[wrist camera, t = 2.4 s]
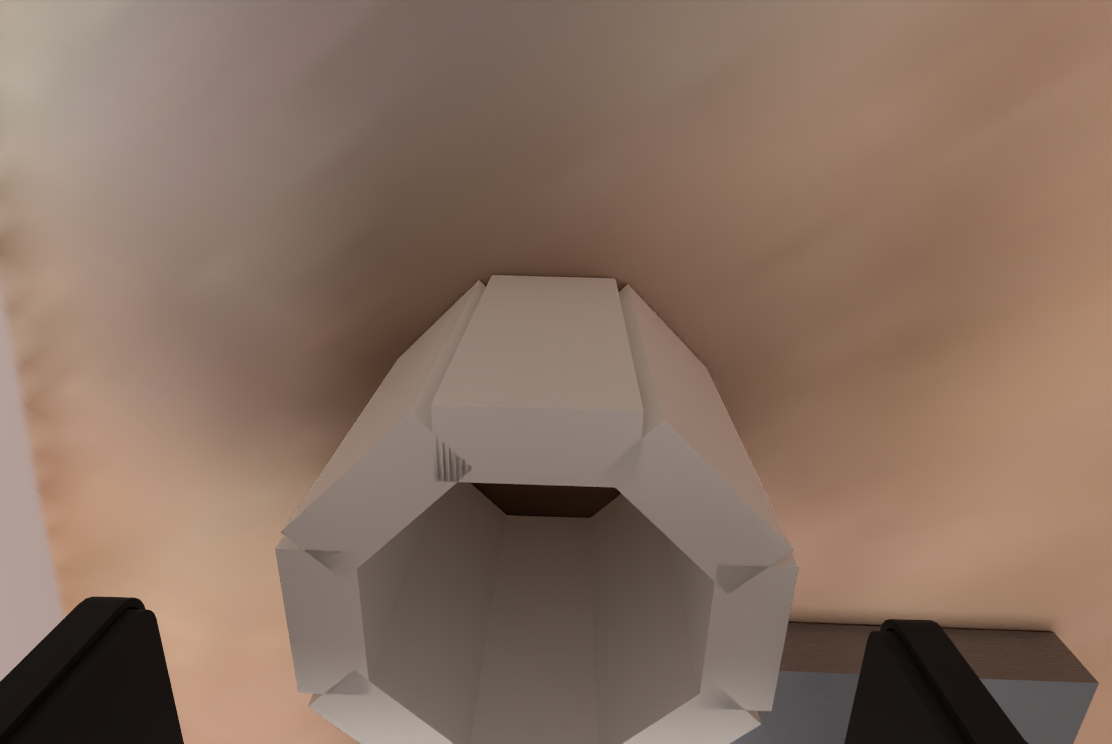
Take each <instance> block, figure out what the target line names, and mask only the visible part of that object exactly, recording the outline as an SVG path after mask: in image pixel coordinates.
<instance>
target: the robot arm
mask: <svg viewBox="0 0 1112 744" xmlns="http://www.w3.org/2000/svg"><path fill="white" fill-rule="evenodd" d="M0 744H184V742H183V738H182V733H181V729H180V724H179V720H178V715H177V710H176V706H175V701H174V697H173V692H172V688H171V683H170V679H169V674H168V670H167V665H166V660H165V656H164V651H163V647H162V642H161V638H160V633H159V629H158V624H157V620H156V617H155V614H154V613H153V612H152V611H151V610H146V609H145V607H144V604H143V603H142V602H141V601H140V600H139V599H137V598H124V597H90V598H87V599H85V600H84V601H82V602H81V603H80V604H78V605H77V606H76V607H75V608H74V609H73V610H72V611H71V612H70V613H69V614H68V615H67V616H66V617H65V618H64V619H63V620H62V621H61V622H60V623H59V624H58V625H57V626H56V627H55V628H54V629H53V630H52V631H51V632H50V633H49V634H48V635H47V636H46V637H45V638H44V639H43V640H42V641H41V642H40V643H39V644H38V645H37V646H36V647H35V648H34V649H33V650H32V651H31V652H30V653H29V654H28V655H27V656H26V657H25V658H24V659H23V660H22V661H21V662H20V663H19V664H18V665H17V666H16V667H15V668H14V669H13V670H12V671H11V672H10V673H9V674H8V675H7V676H6V677H5V678H4V679H3V680H2V681H1V682H0ZM844 744H1029V743H1028V742H1027V741H1025V740H1024V738H1023V737H1022V736H1021V734H1020V733H1019V732H1018V730H1017V729H1016V728H1015V726H1014V725H1013V723H1012V722H1011V721H1010V719H1009V718H1008V717H1007V715H1006V714H1005V713H1004V711H1003V710H1002V709H1001V707H1000V706H999V705H998V703H997V702H996V700H995V699H994V698H993V696H992V695H991V694H990V692H989V691H988V690H987V688H986V687H985V686H984V684H983V683H982V682H981V680H980V679H979V677H978V676H977V675H976V673H975V672H974V671H973V669H972V668H971V667H970V665H969V664H968V663H967V661H966V660H965V659H964V657H963V656H962V654H961V653H960V652H959V650H958V649H957V648H956V646H955V645H954V644H953V642H952V641H951V640H950V638H949V637H948V636H947V634H946V633H945V632H944V630H943V629H942V628H941V627H940V626H939V625H938V624H937V623H936V622H933V621H930V620H895V619H890V620H886V621H885V622H884V623H883V624H882V626H881V629H880V631H872V632H871V633H870V634H869V636H868V639H867V643H866V648H865V652H864V657H863V661H862V666H861V670H860V675H859V679H858V684H857V688H856V693H855V697H854V702H853V706H852V711H851V715H850V720H849V724H848V729H847V733H846V738H845V742H844Z"/></svg>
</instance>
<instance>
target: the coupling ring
mask: <svg viewBox="0 0 1112 744" xmlns="http://www.w3.org/2000/svg"><path fill="white" fill-rule="evenodd" d="M471 483H499V484H529V485H559V486H589V487H615V488H616V489H617V490H618V491H619V492H620V493H622V494H620V495H619V496H618V497H617V498H615V499H614V500H613V501H611V502H610V503H609V504H608V505H606V506H605V507H604V508H603V509H601V510H600V511H599V512H597V513H596V514H595V515H594V516H592V517H591V518H572V517H543V516H513V515H506V514H505V513H504V512H503V511H502V510H500V509H499V508H498V507H497V506H496V505H495V504H494V503H492V502H491V501H490V500H489V499H488V498H487V497H486V496H485V495H483V494H482V493H481V492H480V491H479V490H478V489H477V488H475V487H474V486H473V485H472V484H471ZM281 533H282V534H284V536H283V538H282V539H281V541H280V542H279V544H278V545H277V547H276V548H275V550H276V557H277V563H278V569H279V575H280V582H281V588H282V594H283V600H284V607H285V613H286V619H287V625H288V631H289V638H290V644H291V650H292V656H293V663H294V669H295V675H296V681H297V688H298V693H314V694H313V696H312V698H311V700H310V703H309V705H308V707H309V708H311V709H312V710H313V711H315V712H316V713H318V714H319V715H321V716H322V717H323V718H325V719H326V720H328V721H329V722H330V723H332V724H333V725H335V726H336V727H338V728H339V729H340V730H342V731H343V732H345V733H346V734H347V735H349V736H350V737H352V738H353V739H355V740H356V741H357V742H359V743H360V744H730V743H731V742H733V741H735V740H736V739H738V738H740V737H741V736H743V735H745V734H746V733H748V732H750V731H751V730H753V729H754V728H756V727H758V726H759V725H761V721H760V718H759V715H758V711H772V705H773V700H774V695H775V690H776V684H777V679H778V674H779V669H780V663H781V658H782V653H783V647H784V642H785V637H786V632H787V626H788V621H789V616H790V610H791V605H792V600H793V595H794V589H795V584H796V579H797V574H798V568H799V567H798V565H797V562H796V560H795V558H794V556H793V554H792V552H791V551H793V548H792V546H791V544H790V542H789V540H788V538H787V536H786V533H785V531H784V529H783V527H782V525H781V523H780V521H779V519H778V517H777V515H776V512H775V510H774V508H773V506H772V504H771V502H770V500H769V498H768V496H767V494H766V491H765V489H764V487H763V485H762V483H761V481H760V479H759V477H758V475H757V473H756V470H755V468H754V466H753V464H752V462H751V460H750V458H749V456H748V454H747V452H746V449H745V447H744V445H743V443H742V441H741V439H740V437H739V435H738V433H737V431H736V428H735V426H734V424H733V422H732V420H731V418H730V416H729V414H728V412H727V410H726V407H725V405H724V403H723V401H722V399H721V397H720V395H719V393H718V391H717V389H716V386H715V384H714V382H713V380H712V378H711V376H710V374H709V372H708V370H707V368H706V367H705V366H704V364H703V363H702V362H701V361H700V360H699V359H698V358H697V357H696V356H695V355H694V354H693V353H692V352H691V351H690V350H689V348H688V347H687V346H686V345H685V344H684V343H683V342H682V341H681V340H680V339H679V338H678V337H677V336H676V335H675V334H674V332H673V331H672V330H671V329H670V328H669V327H668V326H667V325H666V324H665V323H664V322H663V321H662V320H661V319H660V318H659V316H658V315H657V314H656V313H655V312H654V311H653V310H652V309H651V308H650V307H649V306H648V305H647V304H646V303H645V302H644V300H643V299H642V298H641V297H640V296H639V295H638V294H637V293H636V292H635V291H634V290H633V289H632V288H631V287H630V286H629V284H627V285H626V286H625V287H624V288H623V289H622V290H621V291H620V292H618V288H617V283H616V279H615V278H582V277H546V276H510V275H492V276H491V278H490V280H489V282H488V284H487V286H485V285H484V284H483V283H482V282H481V281H480V280H478V281H477V282H476V283H475V284H474V285H473V286H472V287H471V288H470V289H469V290H468V291H467V292H466V293H465V294H464V295H463V296H462V297H461V298H460V299H459V300H458V301H457V302H456V303H455V304H454V305H453V306H452V307H451V308H450V309H449V310H447V311H446V312H445V313H444V314H443V315H442V316H441V317H440V318H439V319H438V320H437V321H436V322H435V323H434V324H433V325H432V326H431V327H430V328H429V329H428V330H427V331H426V332H425V333H424V334H423V335H422V336H421V337H420V338H419V339H418V340H417V341H416V342H415V343H414V344H412V345H411V346H410V347H409V348H408V349H407V350H406V351H405V352H404V353H403V354H402V355H401V356H400V357H399V358H398V359H397V361H396V362H395V364H394V365H393V367H392V368H391V370H390V371H389V373H388V374H387V376H386V377H385V379H384V380H383V382H382V383H381V385H380V386H379V388H378V389H377V390H376V392H375V393H374V395H373V396H372V398H371V399H370V401H369V402H368V404H367V405H366V407H365V408H364V410H363V411H362V413H361V414H360V416H359V417H358V419H357V420H356V422H355V423H354V425H353V426H352V428H351V429H350V430H349V432H348V433H347V435H346V436H345V438H344V439H343V441H342V442H341V444H340V445H339V447H338V448H337V450H336V451H335V453H334V454H333V456H332V457H331V459H330V460H329V462H328V463H327V465H326V466H325V468H324V469H323V470H322V472H321V473H320V475H319V476H318V478H317V479H316V481H315V482H314V484H313V485H312V487H311V488H310V490H309V491H308V493H307V494H306V496H305V497H304V499H303V500H302V502H301V503H300V505H299V506H298V508H297V509H296V511H295V512H294V513H293V515H292V516H291V518H290V519H289V521H288V522H287V524H286V525H285V527H284V528H283V530H282V531H281Z"/></svg>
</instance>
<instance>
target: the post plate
mask: <svg viewBox="0 0 1112 744" xmlns="http://www.w3.org/2000/svg"><path fill="white" fill-rule="evenodd" d="M880 629H881V626H862V625H835V624H807V623H788V626H787V632H786V637H785V642H784V647H783V653H782V658H781V663H780V669H779V674H778V679H777V684H776V690H775V695H774V700H773V705H772V711H758V715H759V718H760V721H761V725H759V726H758V727H756V728H754V729H753V730H751V731H750V732H748V733H746V734H745V735H743V736H741V737H740V738H738V739H736V740H735V741H733V742H731V743H730V744H844V742H845V738H846V733H847V729H848V724H849V720H850V715H851V711H852V706H853V702H854V697H855V693H856V688H857V684H858V679H859V675H860V670H861V666H862V661H863V657H864V652H865V648H866V643H867V639H868V636H869V634H870V633H871V632H872V631H880ZM942 629H943V630H944V632H945V633H946V634H947V636H948V637H949V638H950V640H951V641H952V642H953V644H954V645H955V646H956V648H957V649H958V650H959V652H960V653H961V654H962V656H963V657H964V659H965V660H966V661H967V663H968V664H969V665H970V667H971V668H972V669H973V671H974V672H975V673H976V675H977V676H978V677H979V679H980V680H981V682H982V683H983V684H984V686H985V687H986V688H987V690H988V691H989V692H990V694H991V695H992V696H993V698H994V699H995V700H996V702H997V703H998V705H999V706H1000V707H1001V709H1002V710H1003V711H1004V713H1005V714H1006V715H1007V717H1008V718H1009V719H1010V721H1011V722H1012V723H1013V725H1014V726H1015V728H1016V729H1017V730H1018V732H1019V733H1020V734H1021V736H1022V737H1023V738H1024V740H1025V741H1027V742H1028V743H1029V744H1073V743H1074V740H1075V738H1076V736H1077V733H1078V731H1079V729H1080V726H1081V724H1082V722H1083V719H1084V717H1085V714H1086V712H1087V710H1088V707H1089V705H1090V703H1091V700H1092V698H1093V696H1094V693H1095V691H1096V689H1097V686H1098V684H1099V683H1098V682H1097V681H1096V679H1095V678H1094V677H1093V676H1092V675H1091V674H1090V673H1089V672H1088V670H1087V669H1086V668H1085V667H1084V666H1083V665H1082V664H1081V662H1080V661H1079V660H1078V659H1077V658H1076V657H1075V656H1074V655H1073V653H1072V652H1071V651H1070V650H1069V649H1068V648H1067V647H1066V646H1065V644H1064V643H1063V642H1062V641H1061V640H1060V639H1059V638H1058V637H1057V635H1056V634H1055V633H1054V632H1026V631H999V630H971V629H944V628H942Z"/></svg>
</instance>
